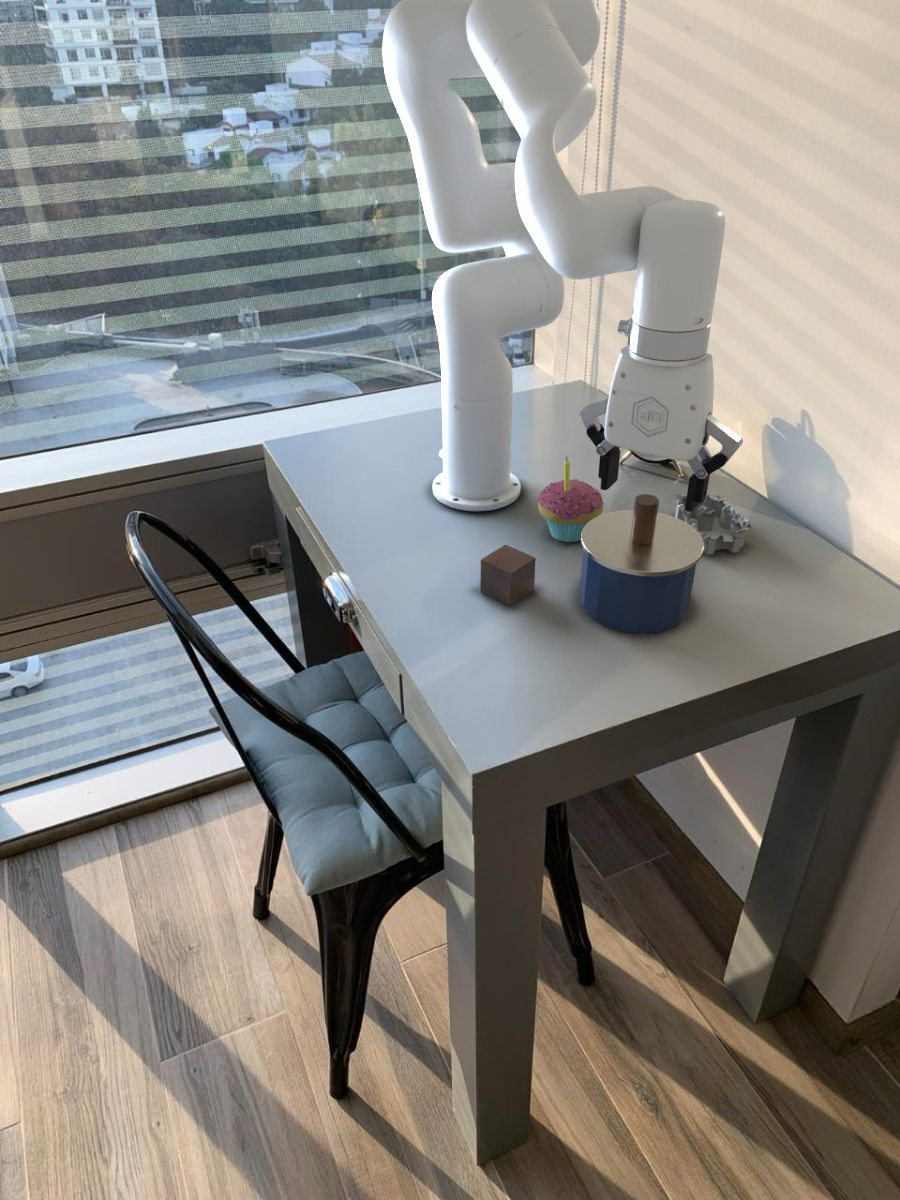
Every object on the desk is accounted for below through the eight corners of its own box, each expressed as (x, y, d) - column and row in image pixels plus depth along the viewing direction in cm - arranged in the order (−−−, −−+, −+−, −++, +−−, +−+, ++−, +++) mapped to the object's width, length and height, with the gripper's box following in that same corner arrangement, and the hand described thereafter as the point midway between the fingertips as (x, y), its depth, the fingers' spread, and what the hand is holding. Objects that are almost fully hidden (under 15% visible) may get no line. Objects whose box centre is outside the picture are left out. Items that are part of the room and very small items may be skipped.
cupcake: (583, 556, 113) (590, 471, 107) (524, 538, 117) (527, 455, 110) (610, 527, 119) (619, 444, 113) (553, 511, 123) (558, 430, 116)
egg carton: (749, 554, 114) (755, 526, 111) (691, 556, 113) (696, 529, 111) (722, 512, 122) (728, 486, 120) (668, 515, 122) (673, 488, 120)
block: (480, 591, 107) (480, 559, 105) (504, 576, 110) (505, 544, 107) (509, 606, 105) (511, 573, 102) (534, 590, 107) (535, 557, 105)
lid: (557, 535, 103) (560, 487, 100) (651, 508, 108) (657, 462, 105) (628, 594, 93) (634, 543, 90) (728, 561, 99) (738, 511, 95)
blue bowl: (559, 589, 107) (563, 532, 103) (643, 562, 112) (651, 506, 108) (622, 646, 98) (629, 585, 94) (711, 614, 103) (722, 555, 98)
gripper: (571, 336, 89) (562, 490, 98) (744, 366, 81) (716, 530, 90) (603, 316, 94) (591, 465, 103) (768, 342, 86) (739, 500, 95)
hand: (649, 495), depth 97 cm, fingers open, 9 cm apart
